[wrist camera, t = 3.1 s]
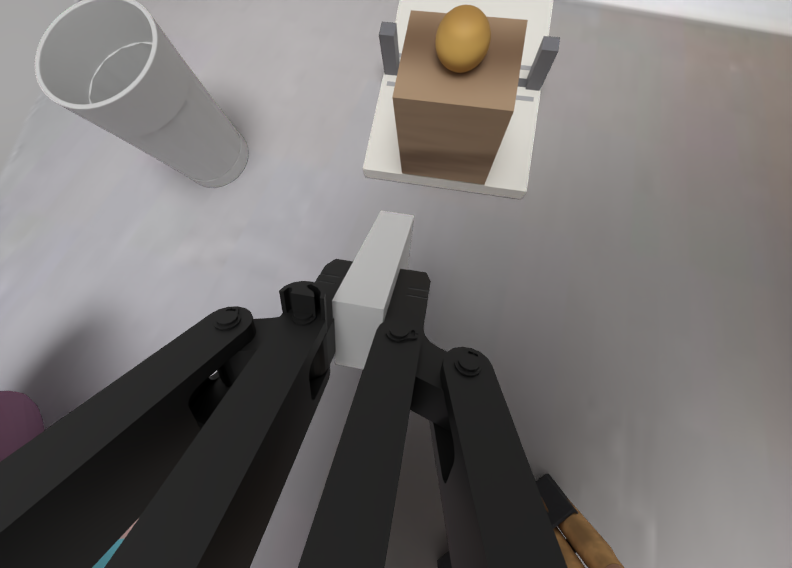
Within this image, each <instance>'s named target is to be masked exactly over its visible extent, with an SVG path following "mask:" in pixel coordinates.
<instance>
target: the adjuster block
mask: <svg viewBox="0 0 792 568" xmlns="http://www.w3.org/2000/svg"><path fill="white" fill-rule="evenodd" d="M527 22H528V20H522V19H510V18H498V17H486V15H485V14H484V13H483V12H482V11H481V10H480V9H479V8H477V7H475V6H472V5H460V6H457V7H455V8H453V9H452V10H450V11H449V12H448V13H439V12H427V11H415V10H411V12H410V17H409V21H408V26H407V31H406V35H405V40H404V45H403V49H402V54H401V59H400V64H399V68H398V73H397V78H396V82H395V87H394V92H393V96H392V99H393V107H394V115H395V123H396V130H397V138H398V146H399V154H400V162H401V170H402V173H404V174H411V175H418V176H426V177H433V178H440V179H447V180H454V181H461V182H469V183H476V184H483V185H484V184H485V182H486V179H487V177H488V174H489V172H490V169H491V167H492V164H493V162H494V159H495V157H496V155H497V152H498V150H499V147H500V145H501V142H502V140H503V137H504V135H505V132H506V130H507V127H508V125H509V122H510V120H511V117H512V115H513V112H514V107H515V101H516V94H517V88H518V81H519V74H520V68H521V61H522V55H523V48H524V42H525V35H526V28H527Z"/></svg>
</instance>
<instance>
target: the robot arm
mask: <svg viewBox="0 0 792 568" xmlns="http://www.w3.org/2000/svg"><path fill="white" fill-rule="evenodd" d="M413 221H414V215H408V214H401V213H395V212H388V211H380V213H379V215H378V217H377V219H376V221H375V222H374V224H373V226H372V228H371V230H370V232H369V233H368V235H367V237H366V239H365V241H364V243H363V245H362V246H361V248H360V250H359V252H358V254H357V256H356V257H355V259H354V261H353V262H352V261H346V260H340V259H335V260H333V261H332V262H330V263H328V264H327V265H326V266H325V267H324V269H323V270H322V272H321V275H319V276H318V278H317V279H316V281H315V282H310V281H299V282H294V283H291V284H288V285H286V286H284V287H283V288H282V289H281V290H280V291H279V293H280V299H281V305H282V311H283V313H282V315H281V316H280V317H276V318H264V319H253V316H252V314H251V312H250V311H249V310H247V309H246V308H242V307H238V306H237V307H226V308H223V309H219V310H217V311H215V312H213V313H211V314H210V315H208V316H207V317H205V318H204V319H203V320H201V321H200V322H198V323H197V324H195V325H194V326H193V327H191V328H190V329H188V330H187V331H185V332H184V333H183V334H181V335H180V336H178V337H177V338H176V339H174V340H173V341H171V342H170V343H168V344H167V345H166V346H164V347H163V348H161V349H160V350H158V351H157V352H156V353H154V354H153V355H151V356H150V357H149V358H147V359H146V360H144V361H143V362H141V363H140V364H139V365H137V366H136V367H134V368H133V369H131V370H130V371H129V372H127V373H126V374H124V375H123V376H122V377H120V378H119V379H117V380H116V381H114V382H113V383H112V384H110V385H109V386H107V387H106V388H104V389H103V390H102V391H100V392H99V393H97V394H96V395H95V396H93V397H92V398H90V399H89V400H87V401H86V402H85V403H83V404H82V405H80V406H79V407H77V408H76V409H75V410H73V411H72V412H70V413H69V414H67V415H66V416H65V417H63V418H62V419H60V420H59V421H58V422H56V423H55V424H53V425H52V426H50V427H49V428H48V429H46V430H45V431H43V432H42V433H40V434H39V435H38V436H36V437H35V438H33V439H32V440H31V441H29V442H28V443H26V444H25V445H23V446H22V447H21V448H19V449H18V450H16V451H15V452H13V453H12V454H11V455H9V456H8V457H6V458H5V459H4V460H2V461H1V462H0V568H92V567H93V566H94V565H95V564H96V563H97V562H98V561H99V560H100V559H101V558H102V557H103V556H104V554H105V553H106V552H107V551H108V550H109V549H110V548H111V547H112V546H113V545H114V544H115V543H116V542H117V541H118V540H119V539H120V537H121V536H122V535H123V534H124V533H125V532H126V531H127V530H128V529H129V528H130V527H131V526H132V525H133V524H134V523H135V522H136V523H135V524H134V526H133V527H132V529H131V530H130V531H129V533H128V534H127V536H126V537H125V539H124V540H123V541H122V543H121V544H120V546H119V547H118V549H117V550H116V551H115V553H114V554H113V556H112V557H111V559H110V560H109V561H108V563H107V564H106V566H105V567H104V568H250V566H251V563H252V561H253V558H254V556H255V554H256V551H257V549H258V547H259V544H260V542H261V539H262V537H263V535H264V532H265V530H266V527H267V525H268V523H269V520H270V518H271V516H272V513H273V511H274V508H275V506H276V504H277V501H278V499H279V496H280V494H281V492H282V489H283V487H284V485H285V482H286V480H287V477H288V475H289V473H290V470H291V468H292V465H293V463H294V461H295V458H296V456H297V454H298V451H299V449H300V446H301V444H302V442H303V439H304V437H305V434H306V432H307V430H308V427H309V425H310V423H311V420H312V418H313V415H314V413H315V411H316V408H317V406H318V403H319V401H320V399H321V396H322V394H323V392H324V389H325V387H326V384H327V382H328V380H329V376H330V363H331V361H332V359H333V356H334V354H335V364H337V365H342V366H347V367H353V368H358V369H363V372H362V375H361V378H360V381H359V384H358V387H357V390H356V393H355V396H354V399H353V402H352V405H351V408H350V411H349V414H348V418H347V421H346V424H345V427H344V430H343V433H342V436H341V439H340V442H339V445H338V448H337V451H336V454H335V457H334V460H333V463H332V466H331V469H330V472H329V475H328V478H327V481H326V484H325V487H324V490H323V493H322V496H321V499H320V502H319V505H318V508H317V511H316V514H315V517H314V520H313V523H312V526H311V529H310V532H309V535H308V539H307V542H306V545H305V548H304V551H303V554H302V557H301V560H300V563H299V566H298V568H384V566H385V560H386V554H387V548H388V542H389V535H390V529H391V523H392V517H393V511H394V505H395V499H396V492H397V486H398V480H399V474H400V468H401V462H402V456H403V450H404V443H405V437H406V431H407V425H408V419H409V413H410V410H412V411H414V412H416V413H417V414H419V415H421V416H423V417H425V418H426V419H428V420H429V423H430V429H431V436H432V442H433V449H434V455H435V462H436V468H437V475H438V481H439V488H440V494H441V501H442V507H443V514H444V520H445V527H446V533H447V540H448V546H449V553H450V559H451V566H452V568H568V567H567V564H566V562H565V559H564V556H563V554H562V551H561V548H560V546H559V543H558V540H557V538H556V535H555V532H554V530H553V527H552V524H551V522H550V519H549V516H548V514H547V511H546V508H545V506H544V503H543V500H542V498H541V495H540V492H539V490H538V487H537V484H536V482H535V479H534V476H533V474H532V471H531V468H530V466H529V463H528V460H527V458H526V455H525V452H524V450H523V447H522V444H521V442H520V439H519V436H518V434H517V431H516V428H515V426H514V423H513V420H512V418H511V415H510V412H509V409H508V407H507V404H506V401H505V399H504V396H503V393H502V391H501V388H500V385H499V383H498V380H497V377H496V375H495V372H494V369H493V367H492V365H491V363H490V361H489V360H488V358H487V357H485V356H484V355H483V354H482V353H481V352H479V351H476V350H474V349H472V348H466V347H458V348H453V349H452V350H450V351H448V352H447V351H444V350H442V349H440V348H438V347H437V346H435V345H433V344H432V343H431V342H430V341H429V340H428V339H427V338H426V336H425V334H424V331H423V325H424V319H425V313H426V307H427V300H428V294H429V288H430V282H431V281H430V279H429V277H428V275H427V273H425V272H418V271H412V270H407V269H408V263H409V255H410V246H411V238H412V230H413ZM216 370H217V372H216V373H215V374H214V375H212V374H213V373H214V372H215V371H216ZM211 375H212V376H211ZM138 518H139V519H138ZM137 519H138V520H137Z"/></svg>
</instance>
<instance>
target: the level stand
mask: <svg viewBox="0 0 792 568" xmlns="http://www.w3.org/2000/svg"><path fill="white" fill-rule="evenodd" d="M460 5H472V6H475V7H477V8H479V9H480V10H481V11H482V12H483V13H484V14H485V15H486V17H498V18H510V19H522V20H528V22H527V28H526V35H525V42H524V48H523V55H522V61H521V68H520V74H519V81H518V88H517V94H516V101H515V107H514V112H513V115H512V117H511V120H510V122H509V125H508V127H507V130H506V132H505V135H504V137H503V140H502V142H501V145H500V147H499V150H498V152H497V155H496V157H495V159H494V162H493V164H492V167H491V169H490V172H489V174H488V177H487V179H486V182H485V184H484V185H483V184H476V183H469V182H461V181H454V180H447V179H440V178H433V177H426V176H418V175H411V174H404V173H402V170H401V162H400V154H399V146H398V138H397V130H396V123H395V115H394V107H393V99H392V96H393V92H394V87H395V82H396V78H397V73H398V68H399V64H400V59H401V54H402V49H403V45H404V40H405V35H406V31H407V26H408V21H409V17H410V12H411V10H415V11H427V12H439V13H448V12H449V11H450V10H452V9H453V8H455V7H457V6H460ZM552 7H553V0H400V2H399V7H398V11H397V16H396V20H395V23H391V22H382V23H381V28H380V32H379V39H380V46H381V53H382V59H383V66H384V75H383V79H382V84H381V88H380V93H379V97H378V102H377V107H376V111H375V116H374V120H373V125H372V129H371V134H370V138H369V143H368V147H367V152H366V157H365V161H364V166H363V171H364V174H365V176H366V177H368V178H375V179H382V180H389V181H396V182H403V183H410V184H417V185H424V186H431V187H438V188H445V189H452V190H460V191H467V192H474V193H481V194H488V195H495V196H502V197H509V198H516V199H522V197H523V196H524V195H525V193H526V192H527V185H528V178H529V171H530V164H531V157H532V149H533V142H534V135H535V128H536V121H537V114H538V107H539V100H540V92H541V87H542V85H543V82H544V80H545V78H546V76H547V74H548V72H549V70H550V68H551V66H552V63H553V61H554V59H555V57H556V55H557V53H558V49H559V42H560V37H549V36H548V35H549V28H550V21H551V14H552Z"/></svg>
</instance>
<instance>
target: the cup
mask: <svg viewBox="0 0 792 568" xmlns="http://www.w3.org/2000/svg"><path fill="white" fill-rule="evenodd" d="M35 74H36V78H37V81H38V83H39V86H40V88H41V89H42V91H43V92H44V93H45V94H46V96H47V97H49V98H50V99H51V100H52V101H54V102H55V103H57V104H59V105H61V106H62V107H64V108H66V109H68V110H70V111H71V112H73V113H75V114H77V115H79V116H81V117H82V118H84V119H86V120H88V121H90V122H91V123H93V124H95V125H97V126H99V127H101V128H102V129H104V130H106V131H108V132H110V133H112V134H113V135H115V136H117V137H119V138H120V139H122V140H124V141H126V142H128V143H129V144H131V145H133V146H135V147H136V148H138V149H140V150H142V151H143V152H145V153H147V154H149V155H150V156H152V157H154V158H156V159H158V160H159V161H161V162H163V163H165V164H166V165H168V166H170V167H172V168H173V169H175V170H177V171H179V172H180V173H182V174H184V175H186V176H188V177H189V178H190V179H192V180H193V181H195V182H196V183H198V184H200V185H202V186H205V187H211V188H215V187H221V186H224V185H227V184H229V183H231V182H232V181H234V180H235V179H236V178H237V177H238V176H239V175H240V174H241V173H242V171H243V170H244V168H245V166H246V163H247V160H248V147H247V144H246V141H245V139H244V138H243V137H242V136H241V134H240V133H239V132H238V131H237V130H236V129H235V128H234V126H233V125H232V124H231V122H230V121H229V120H228V118H227V117H226V116H225V114H224V113H223V112H222V110H221V109H220V108H219V106H218V105H217V104H216V102H215V101H214V100H213V98H212V97H211V95H210V94H209V93H208V91H207V90H206V89H205V87H204V86H203V85H202V83H201V82H200V81H199V79H198V78H197V77H196V75H195V74H194V73H193V71H192V70H191V69H190V67H189V66H188V65H187V63H186V62H185V61H184V59H183V58H182V57H181V55H180V54H179V53H178V51H177V50H176V48H175V47H174V46H173V44H172V43H171V42H170V40H169V39H168V38H167V36H166V35H165V33H164V32H163V31H162V29H161V28H160V27H159V25H158V24H157V22H156V21H155V20H154V18H153V17H152V16H151V14H150V13H149V12H148V10H147V9H146V8H145V7H144V6H142V5H141V4H140V3H138V2H137V1H135V0H83V1H80V2H78V3H76V4H75V5H73V6H71V7H70V8H68V9H67V10H65V11H64V12H63V13H62V14H60V15H59V16H58V17H57V18H56V19H55V20H54V21H53V22H52V24H51V25H50V26H49V27H48V28H47V30H46V32H45V33H44V35H43V36H42V38H41V40H40V43H39V45H38V48H37V52H36V56H35Z"/></svg>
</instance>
